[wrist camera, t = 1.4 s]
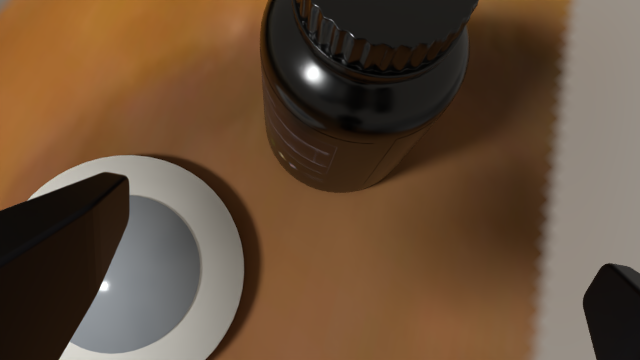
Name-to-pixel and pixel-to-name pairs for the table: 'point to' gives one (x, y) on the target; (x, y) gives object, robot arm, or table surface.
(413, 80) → the supplement bottle
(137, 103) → the table surface
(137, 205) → the coaster
